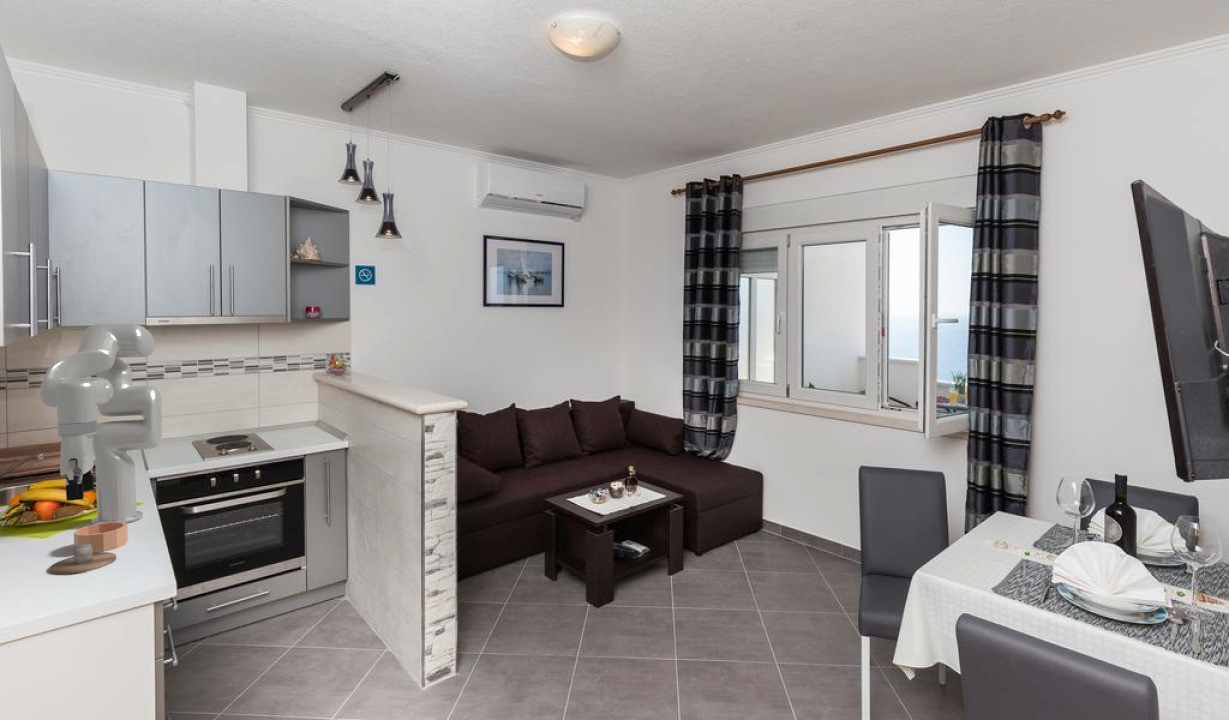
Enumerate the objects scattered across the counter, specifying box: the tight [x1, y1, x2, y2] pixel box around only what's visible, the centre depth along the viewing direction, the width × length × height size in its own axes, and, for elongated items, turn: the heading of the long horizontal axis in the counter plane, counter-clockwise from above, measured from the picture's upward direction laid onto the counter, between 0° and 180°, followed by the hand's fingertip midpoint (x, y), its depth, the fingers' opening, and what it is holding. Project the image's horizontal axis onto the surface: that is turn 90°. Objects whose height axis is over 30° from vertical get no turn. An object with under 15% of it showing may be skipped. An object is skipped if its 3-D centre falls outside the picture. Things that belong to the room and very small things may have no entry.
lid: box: [48, 544, 117, 576], centre depth 156 cm, size 13×13×5 cm
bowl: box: [73, 522, 129, 553], centre depth 169 cm, size 11×11×5 cm
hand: (80, 494), depth 155 cm, fingers open, 9 cm apart
